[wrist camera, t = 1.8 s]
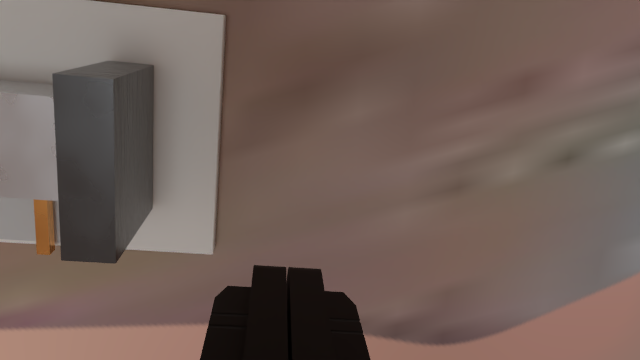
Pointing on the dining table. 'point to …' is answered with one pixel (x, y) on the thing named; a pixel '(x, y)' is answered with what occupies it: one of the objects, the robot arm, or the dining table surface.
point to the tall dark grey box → (81, 155)
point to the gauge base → (169, 103)
